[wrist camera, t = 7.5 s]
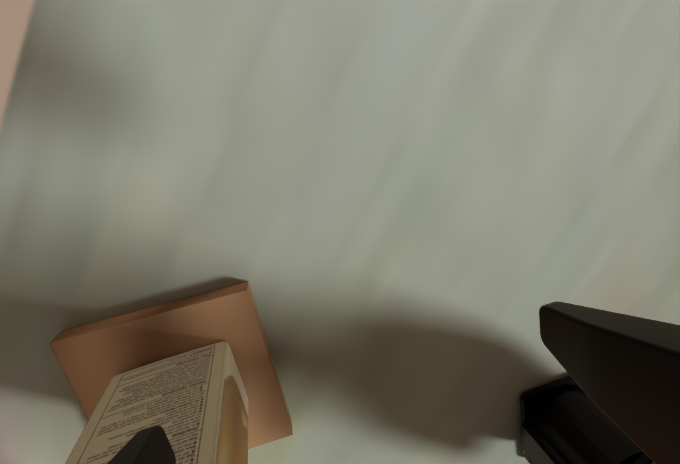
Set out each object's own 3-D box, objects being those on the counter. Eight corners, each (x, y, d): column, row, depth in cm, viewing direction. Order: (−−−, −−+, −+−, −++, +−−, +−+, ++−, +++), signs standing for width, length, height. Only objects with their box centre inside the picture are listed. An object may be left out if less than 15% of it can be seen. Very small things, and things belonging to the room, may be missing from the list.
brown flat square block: (248, 276, 22) (247, 290, 20) (290, 411, 25) (292, 434, 23) (69, 323, 21) (49, 343, 19) (136, 459, 24) (124, 488, 22)
